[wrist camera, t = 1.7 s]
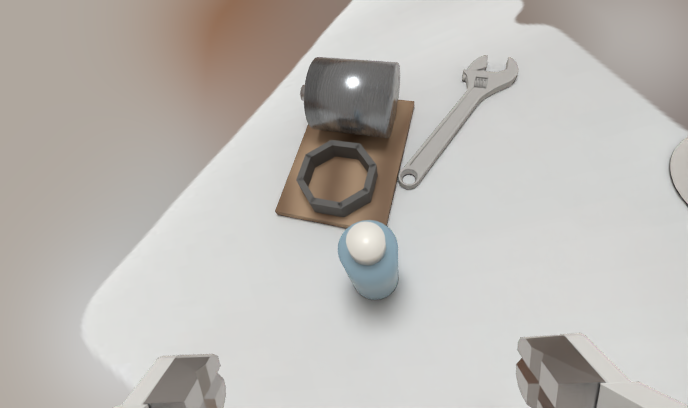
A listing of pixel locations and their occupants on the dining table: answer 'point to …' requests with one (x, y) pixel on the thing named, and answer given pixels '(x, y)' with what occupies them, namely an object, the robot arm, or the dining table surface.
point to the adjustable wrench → (459, 114)
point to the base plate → (348, 174)
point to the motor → (352, 96)
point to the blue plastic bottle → (370, 258)
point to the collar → (327, 153)
